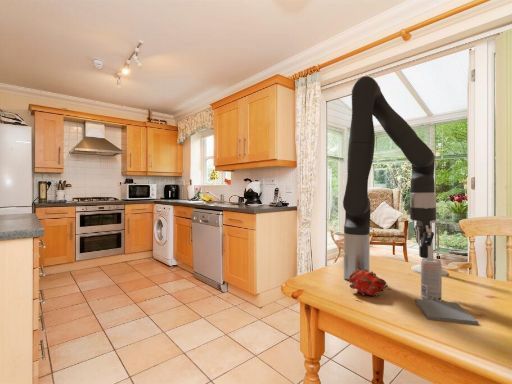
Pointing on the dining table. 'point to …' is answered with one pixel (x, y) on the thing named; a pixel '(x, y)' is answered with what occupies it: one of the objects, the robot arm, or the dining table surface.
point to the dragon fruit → (366, 282)
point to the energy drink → (431, 279)
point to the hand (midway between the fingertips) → (423, 257)
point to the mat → (445, 311)
